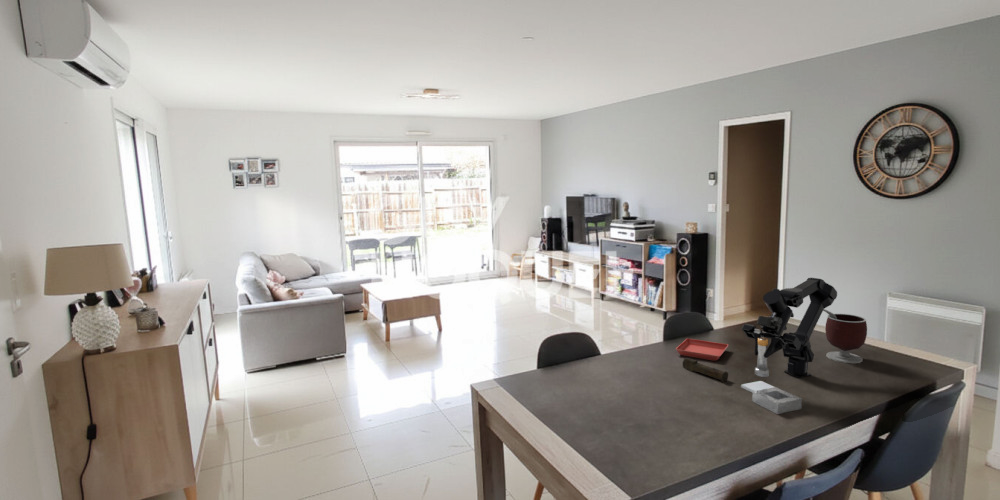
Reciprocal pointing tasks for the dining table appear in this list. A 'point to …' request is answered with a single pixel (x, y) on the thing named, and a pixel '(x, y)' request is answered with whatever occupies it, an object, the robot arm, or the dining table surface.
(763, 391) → the block
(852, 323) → the mate gourd
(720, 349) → the plant saucer
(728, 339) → the dining table surface
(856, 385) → the dining table surface
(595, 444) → the dining table surface
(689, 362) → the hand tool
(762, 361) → the silver metal peg
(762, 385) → the rubber mat
